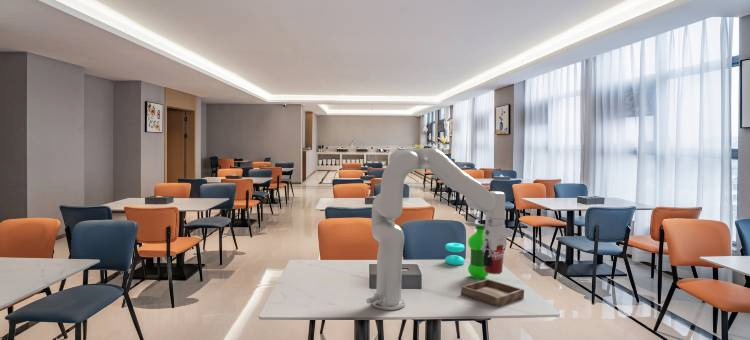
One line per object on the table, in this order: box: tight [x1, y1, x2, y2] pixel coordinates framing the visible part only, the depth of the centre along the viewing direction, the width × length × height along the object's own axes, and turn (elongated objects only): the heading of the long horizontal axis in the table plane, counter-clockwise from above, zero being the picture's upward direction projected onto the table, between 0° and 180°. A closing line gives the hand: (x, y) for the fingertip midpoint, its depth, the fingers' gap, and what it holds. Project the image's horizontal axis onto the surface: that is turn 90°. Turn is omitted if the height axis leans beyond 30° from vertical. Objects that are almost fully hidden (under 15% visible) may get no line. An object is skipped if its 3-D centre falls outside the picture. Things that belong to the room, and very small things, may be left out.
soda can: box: [484, 245, 504, 275], centre depth 187 cm, size 7×7×12 cm
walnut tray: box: [460, 278, 525, 308], centre depth 188 cm, size 18×18×4 cm
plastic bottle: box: [467, 223, 490, 280], centre depth 214 cm, size 10×10×25 cm
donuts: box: [444, 242, 465, 266], centre depth 239 cm, size 10×10×10 cm
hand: (493, 264), depth 187 cm, fingers closed on soda can, 7 cm apart
